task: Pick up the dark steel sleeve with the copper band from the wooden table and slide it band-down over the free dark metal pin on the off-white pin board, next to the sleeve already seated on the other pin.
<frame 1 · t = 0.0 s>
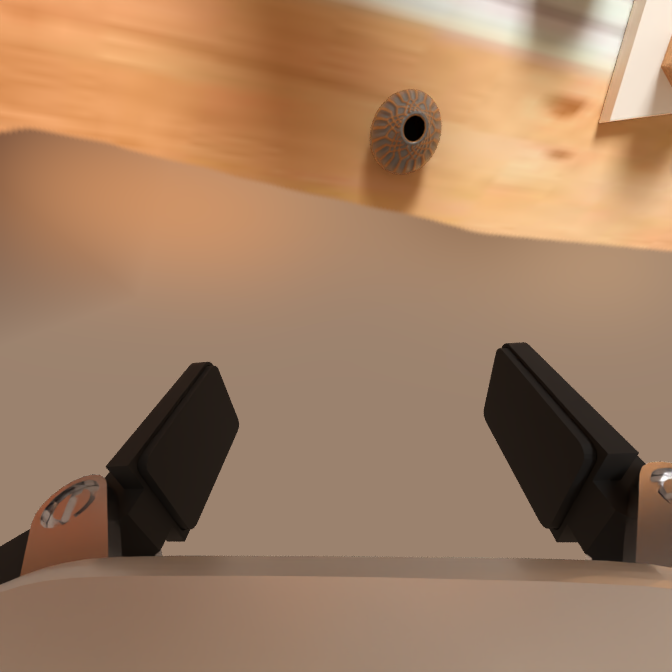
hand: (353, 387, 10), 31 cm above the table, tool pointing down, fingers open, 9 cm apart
vase: (398, 138, 32), on the table
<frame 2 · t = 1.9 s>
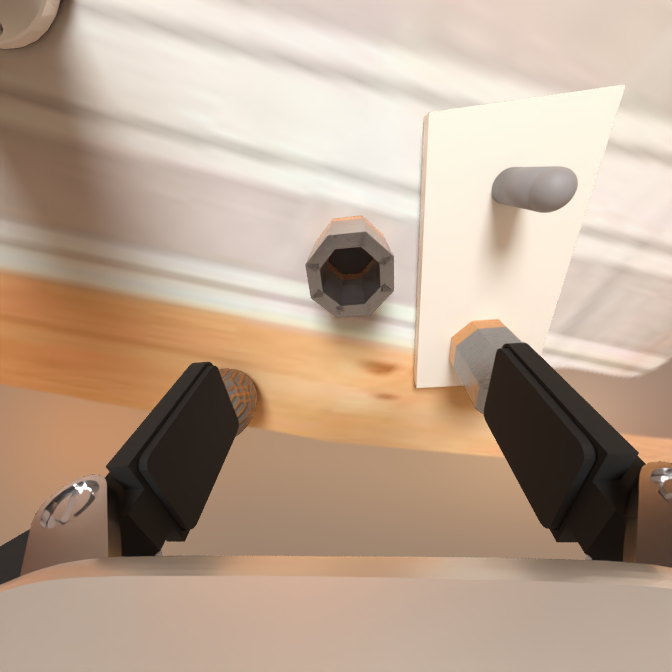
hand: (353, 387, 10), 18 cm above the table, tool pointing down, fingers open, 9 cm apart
pin board: (485, 272, 25), on the table
seated sleeve: (480, 346, 28), point 1 cm above the table, touching pin board
loose sleeve: (350, 251, 25), on the table
vase: (235, 381, 34), on the table
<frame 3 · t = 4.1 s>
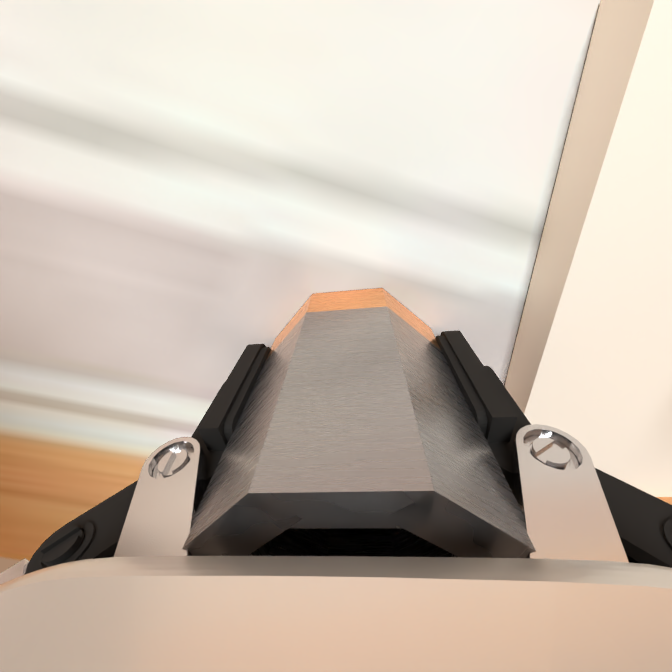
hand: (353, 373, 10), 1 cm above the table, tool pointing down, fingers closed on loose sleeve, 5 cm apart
pin board: (653, 402, 11), on the table
loose sleeve: (353, 360, 11), on the table, touching gripper
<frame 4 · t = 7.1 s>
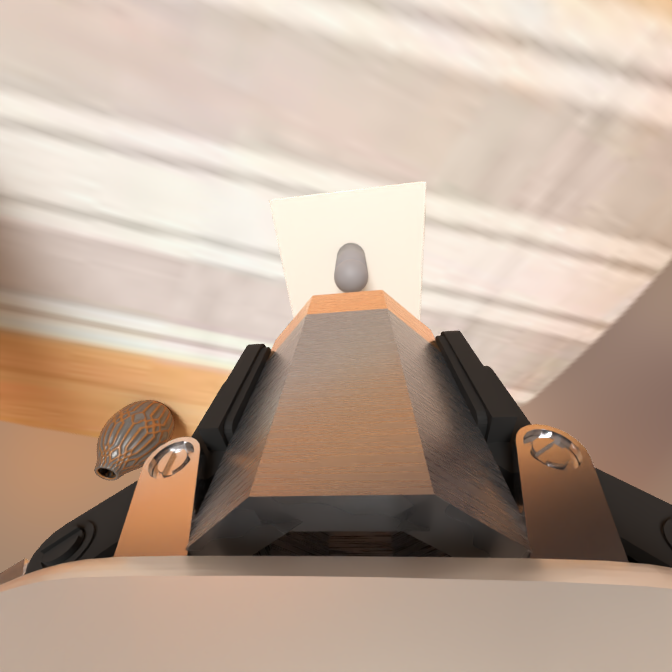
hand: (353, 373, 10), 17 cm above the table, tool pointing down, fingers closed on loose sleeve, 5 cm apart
pin board: (356, 321, 29), on the table
loose sleeve: (353, 361, 11), point 16 cm above the table, touching gripper
vase: (157, 410, 37), on the table
when the fingers open (3 cm above the table, at t = 10.6 s): loose sleeve stays where it is, resting on pin board.
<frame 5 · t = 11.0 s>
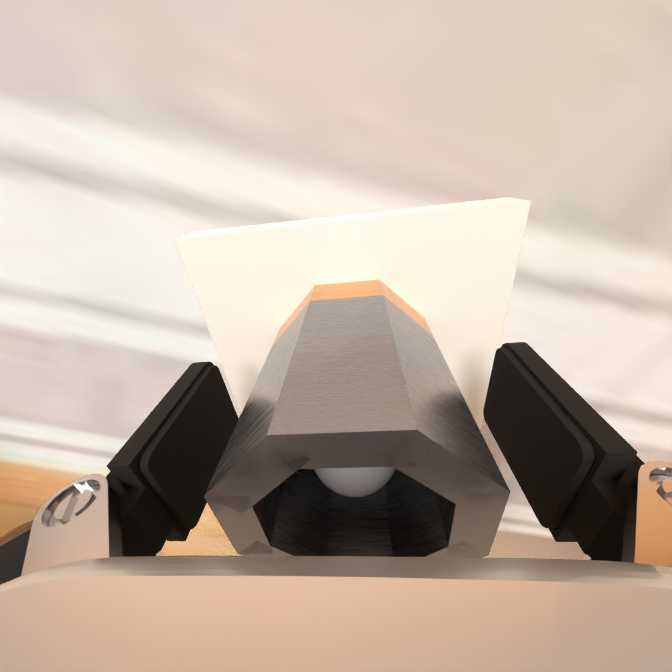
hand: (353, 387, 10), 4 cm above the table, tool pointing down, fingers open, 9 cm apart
pin board: (361, 432, 17), on the table
loose sleeve: (352, 347, 12), point 1 cm above the table, touching pin board
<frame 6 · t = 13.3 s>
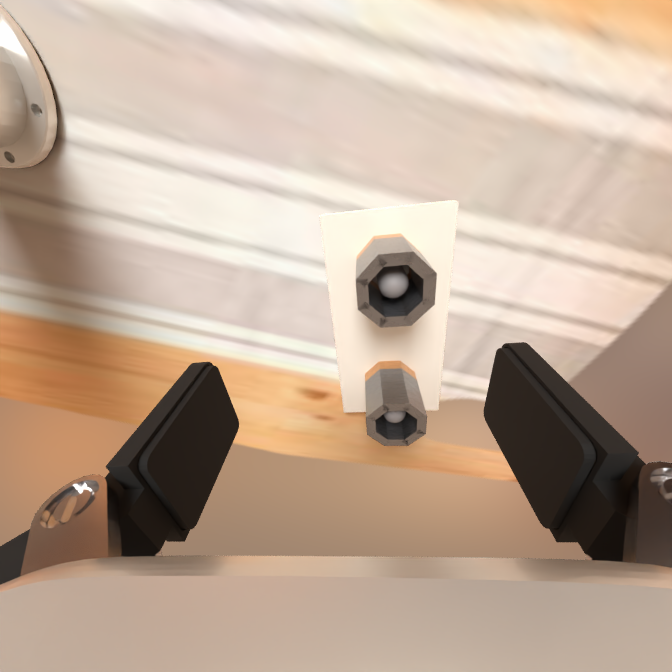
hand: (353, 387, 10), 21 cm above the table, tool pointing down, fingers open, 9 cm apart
pin board: (387, 323, 32), on the table
seated sleeve: (389, 380, 34), point 1 cm above the table, touching pin board
loose sleeve: (387, 266, 27), point 1 cm above the table, touching pin board
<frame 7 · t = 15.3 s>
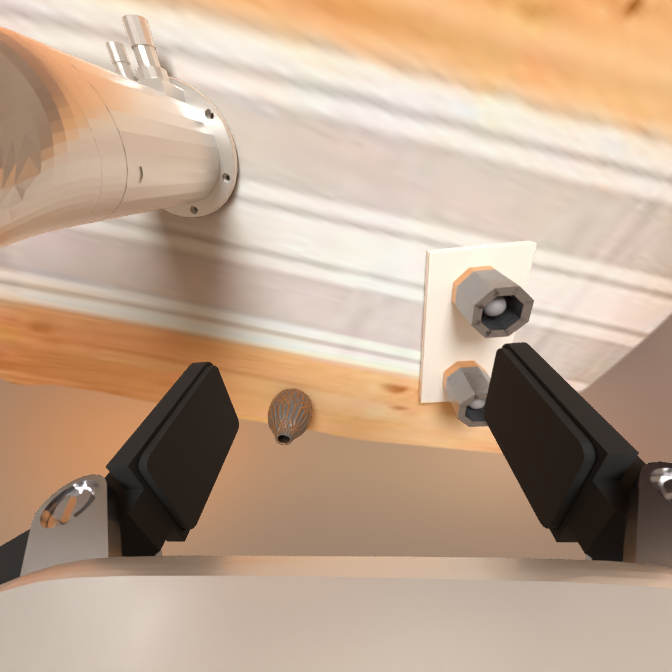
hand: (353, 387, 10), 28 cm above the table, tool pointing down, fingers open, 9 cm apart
pin board: (465, 331, 40), on the table
seated sleeve: (463, 376, 42), point 1 cm above the table, touching pin board
loose sleeve: (476, 289, 35), point 1 cm above the table, touching pin board
vase: (294, 396, 48), on the table
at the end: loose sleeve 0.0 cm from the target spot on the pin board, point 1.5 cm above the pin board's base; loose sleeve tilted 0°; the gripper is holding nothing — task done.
